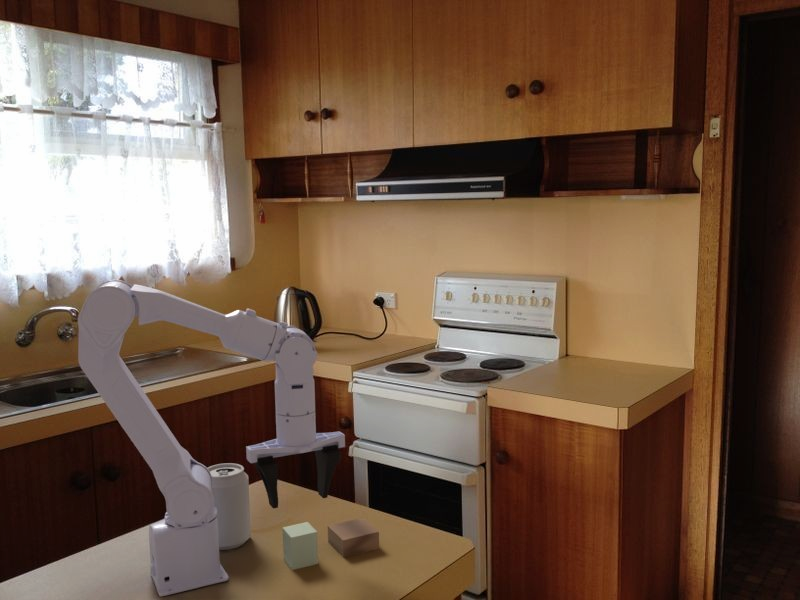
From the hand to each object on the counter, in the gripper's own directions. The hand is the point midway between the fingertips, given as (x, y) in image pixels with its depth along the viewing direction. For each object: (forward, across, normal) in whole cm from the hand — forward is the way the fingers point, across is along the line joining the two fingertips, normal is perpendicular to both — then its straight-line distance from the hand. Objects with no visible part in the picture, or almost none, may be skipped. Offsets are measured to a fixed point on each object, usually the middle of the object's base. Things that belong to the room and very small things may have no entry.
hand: (298, 500), depth 110 cm
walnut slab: (+10, +9, +1) cm, 13 cm away
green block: (+9, 0, 0) cm, 9 cm away
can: (+10, -8, +12) cm, 17 cm away
